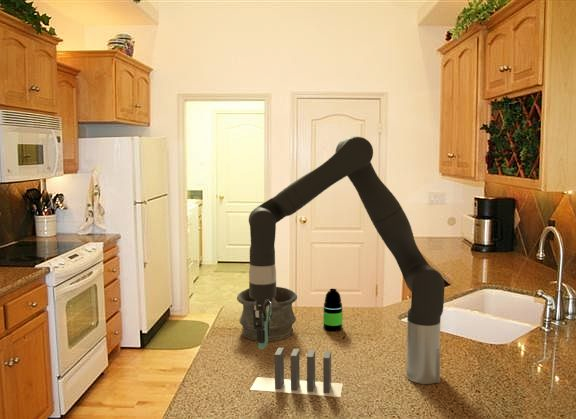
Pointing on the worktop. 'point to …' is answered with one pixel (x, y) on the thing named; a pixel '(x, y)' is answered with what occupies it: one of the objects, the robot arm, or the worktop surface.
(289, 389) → the strip
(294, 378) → the domino
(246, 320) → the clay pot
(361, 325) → the worktop surface
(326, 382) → the domino
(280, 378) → the domino
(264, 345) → the domino
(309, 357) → the domino
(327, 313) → the bottle
